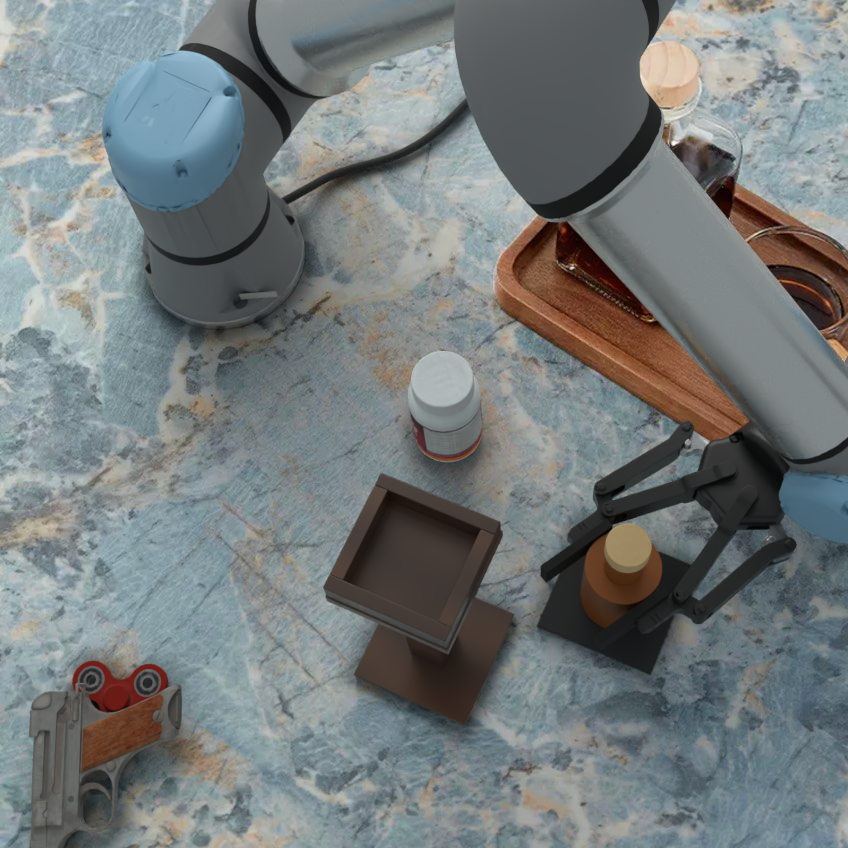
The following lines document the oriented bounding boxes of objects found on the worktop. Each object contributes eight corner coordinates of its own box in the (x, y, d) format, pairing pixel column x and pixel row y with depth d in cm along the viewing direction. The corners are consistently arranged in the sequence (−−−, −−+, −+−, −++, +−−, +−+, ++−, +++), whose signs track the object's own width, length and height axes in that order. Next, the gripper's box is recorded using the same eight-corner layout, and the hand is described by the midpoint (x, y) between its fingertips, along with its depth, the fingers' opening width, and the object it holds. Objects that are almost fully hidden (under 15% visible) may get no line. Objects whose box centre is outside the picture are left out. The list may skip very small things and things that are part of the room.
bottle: (596, 550, 110) (605, 494, 98) (663, 577, 109) (681, 525, 96) (569, 613, 108) (575, 564, 96) (637, 642, 107) (652, 597, 94)
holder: (406, 570, 111) (376, 461, 88) (514, 616, 109) (512, 516, 86) (355, 677, 108) (310, 592, 85) (465, 727, 105) (450, 654, 82)
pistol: (183, 681, 106) (37, 684, 107) (177, 680, 104) (28, 683, 104) (178, 923, 103) (27, 925, 103) (172, 928, 100) (17, 930, 101)
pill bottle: (414, 401, 117) (404, 344, 107) (482, 400, 117) (479, 343, 106) (413, 465, 115) (403, 413, 104) (483, 464, 114) (480, 412, 104)
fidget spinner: (118, 761, 106) (113, 760, 105) (50, 711, 108) (44, 709, 107) (177, 679, 108) (173, 676, 107) (109, 631, 110) (104, 628, 109)
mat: (582, 521, 112) (582, 520, 111) (693, 566, 109) (694, 565, 109) (537, 626, 108) (537, 625, 108) (650, 675, 106) (651, 674, 106)
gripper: (869, 549, 105) (644, 718, 101) (714, 378, 112) (497, 530, 108) (893, 518, 98) (653, 698, 94) (726, 338, 105) (496, 498, 101)
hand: (570, 608), depth 101 cm, fingers open, 6 cm apart
